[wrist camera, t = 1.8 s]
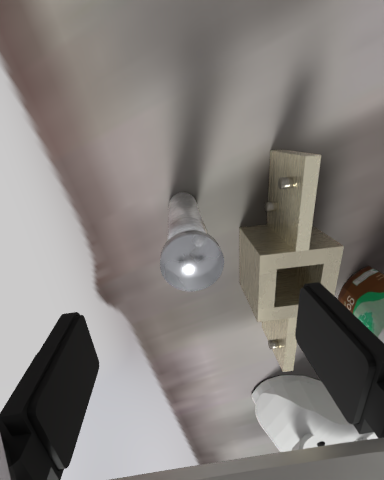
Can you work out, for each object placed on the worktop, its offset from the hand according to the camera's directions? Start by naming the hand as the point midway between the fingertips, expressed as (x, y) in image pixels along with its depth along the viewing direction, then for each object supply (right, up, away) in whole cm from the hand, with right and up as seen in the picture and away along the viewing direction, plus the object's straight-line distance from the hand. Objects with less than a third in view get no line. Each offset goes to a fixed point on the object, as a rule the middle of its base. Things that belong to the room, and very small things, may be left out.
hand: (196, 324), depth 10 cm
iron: (+21, -25, +32) cm, 46 cm away
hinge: (+9, +2, +19) cm, 21 cm away
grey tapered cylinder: (-1, +7, +16) cm, 17 cm away
